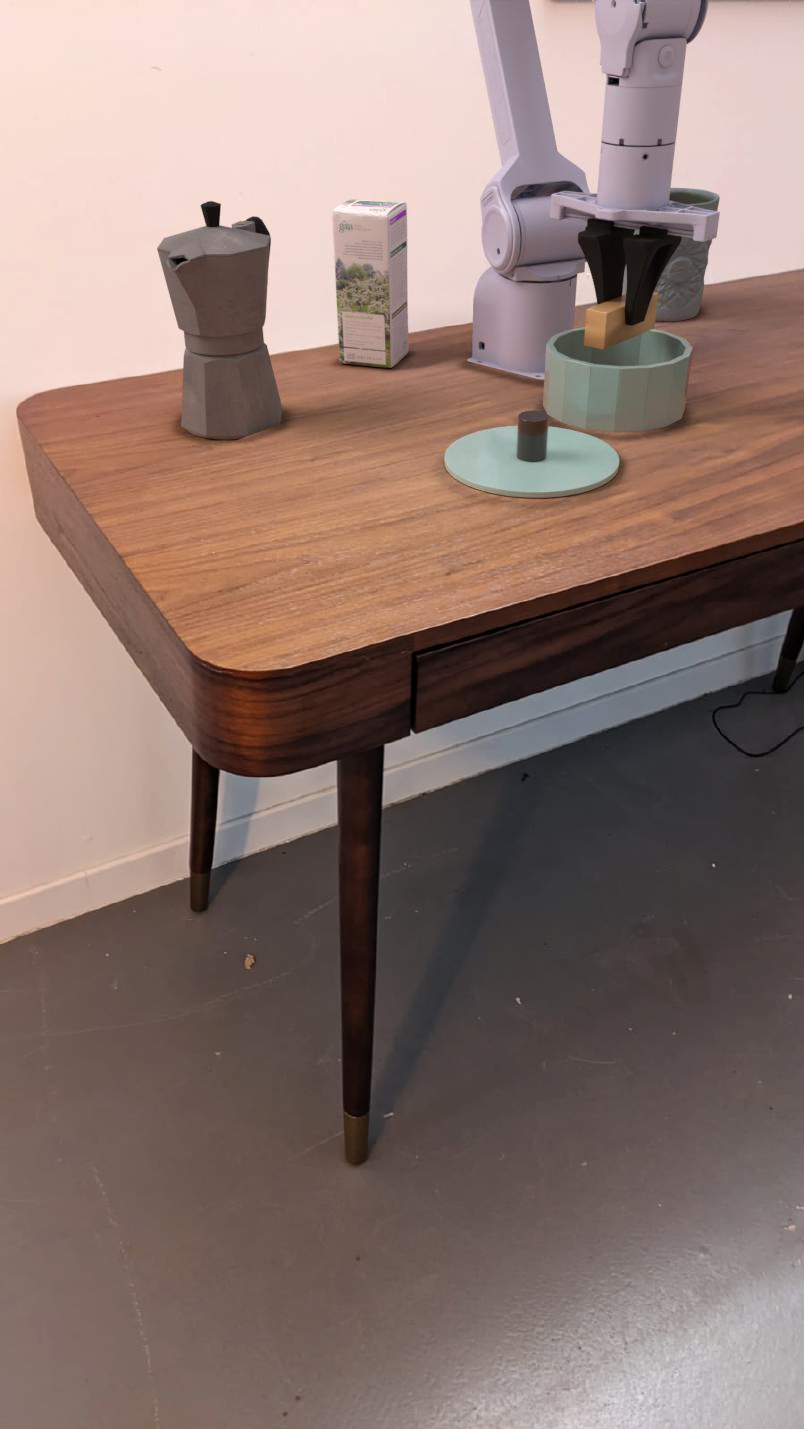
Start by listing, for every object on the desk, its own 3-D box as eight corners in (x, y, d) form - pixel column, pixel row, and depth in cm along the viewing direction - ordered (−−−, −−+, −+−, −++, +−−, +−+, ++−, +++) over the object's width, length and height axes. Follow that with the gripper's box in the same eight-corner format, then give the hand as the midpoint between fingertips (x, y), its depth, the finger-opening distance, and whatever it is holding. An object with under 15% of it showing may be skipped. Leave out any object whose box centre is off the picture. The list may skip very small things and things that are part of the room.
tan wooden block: (603, 350, 93) (607, 313, 91) (583, 345, 94) (586, 308, 92) (654, 328, 98) (658, 292, 96) (635, 324, 99) (638, 289, 97)
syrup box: (410, 352, 115) (408, 199, 107) (391, 370, 110) (388, 211, 102) (358, 348, 116) (352, 196, 108) (337, 365, 112) (329, 208, 104)
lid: (408, 474, 89) (407, 420, 87) (513, 425, 98) (515, 375, 95) (551, 521, 82) (555, 464, 79) (651, 465, 90) (657, 411, 87)
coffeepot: (244, 455, 93) (221, 222, 83) (147, 441, 96) (113, 214, 85) (323, 395, 105) (311, 185, 94) (233, 384, 107) (213, 179, 97)
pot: (516, 416, 99) (519, 348, 96) (593, 381, 107) (598, 317, 103) (634, 449, 93) (642, 377, 89) (708, 409, 100) (718, 342, 97)
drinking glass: (684, 328, 121) (699, 207, 114) (597, 315, 125) (607, 198, 118) (717, 306, 127) (733, 191, 121) (634, 294, 132) (645, 183, 125)
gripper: (532, 139, 89) (524, 315, 97) (695, 157, 81) (672, 347, 89) (582, 129, 93) (571, 298, 101) (742, 144, 85) (716, 327, 93)
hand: (621, 320), depth 95 cm, fingers closed on tan wooden block, 2 cm apart
